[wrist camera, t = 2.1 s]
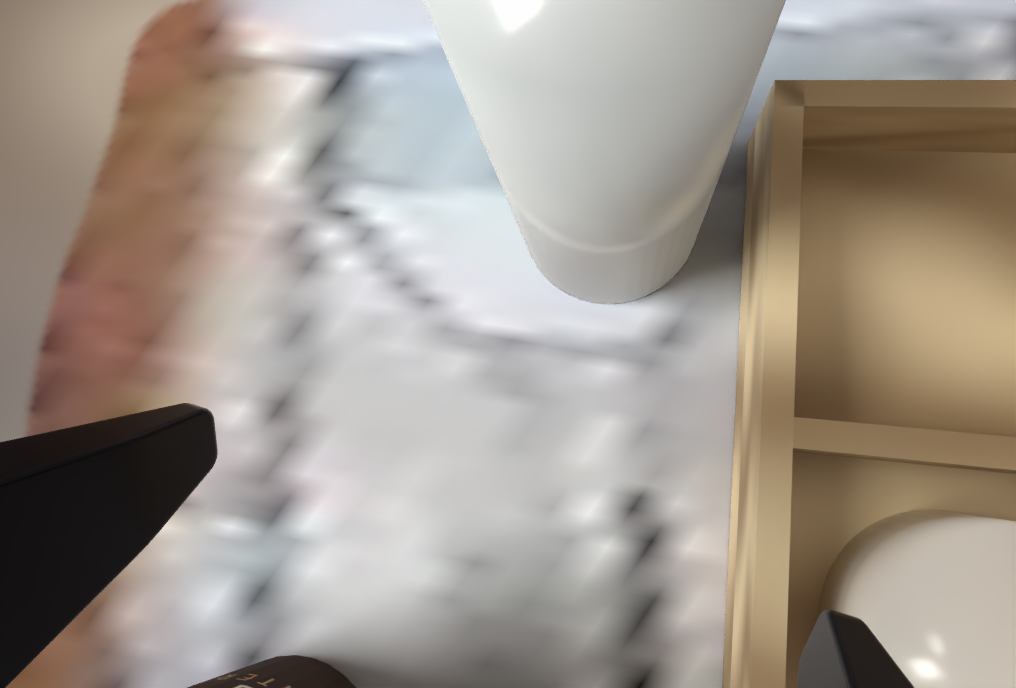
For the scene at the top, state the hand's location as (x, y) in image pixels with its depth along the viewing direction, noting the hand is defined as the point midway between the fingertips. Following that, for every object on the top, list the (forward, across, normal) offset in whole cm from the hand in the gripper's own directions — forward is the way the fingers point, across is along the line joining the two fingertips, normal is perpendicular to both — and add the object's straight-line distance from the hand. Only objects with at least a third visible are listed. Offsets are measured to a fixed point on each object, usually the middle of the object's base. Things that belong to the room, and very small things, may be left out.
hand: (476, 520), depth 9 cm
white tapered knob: (+15, +1, -1) cm, 15 cm away
